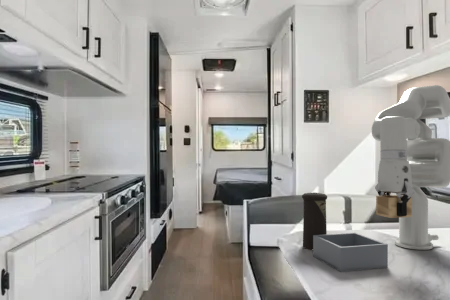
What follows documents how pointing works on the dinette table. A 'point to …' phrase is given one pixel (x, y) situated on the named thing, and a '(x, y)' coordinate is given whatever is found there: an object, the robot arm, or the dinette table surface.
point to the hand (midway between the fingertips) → (393, 213)
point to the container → (313, 217)
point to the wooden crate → (390, 206)
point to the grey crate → (350, 251)
